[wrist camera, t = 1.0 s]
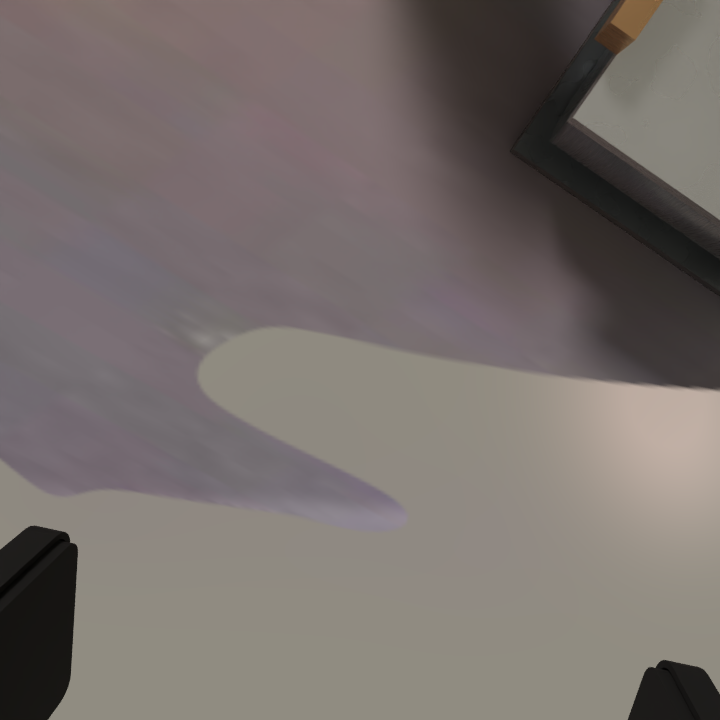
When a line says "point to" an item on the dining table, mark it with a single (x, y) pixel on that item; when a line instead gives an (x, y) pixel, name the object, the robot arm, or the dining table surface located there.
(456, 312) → the dining table surface
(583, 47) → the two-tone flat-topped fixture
